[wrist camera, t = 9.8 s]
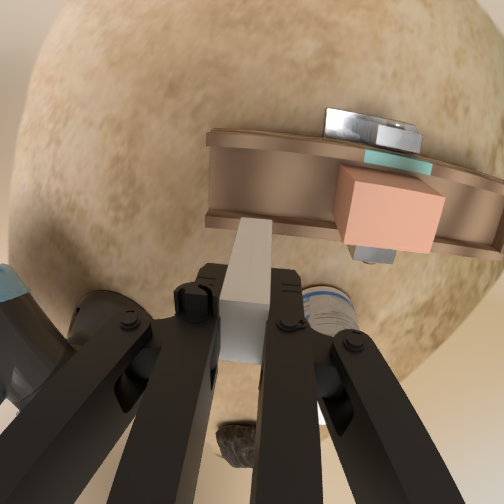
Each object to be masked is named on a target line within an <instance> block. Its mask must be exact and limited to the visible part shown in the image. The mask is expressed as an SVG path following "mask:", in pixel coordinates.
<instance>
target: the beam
mask: <svg viewBox="0 0 504 504" xmlns="http://www.w3.org/2000/svg"><path fill="white" fill-rule="evenodd" d="M206 146H210V175H209V210H208V212H207V214H206V215H205V227H207V228H218V229H229V230H238V227H239V224H240V220H241V217H244V218H256V219H267V220H272V234H279V235H289V236H299V237H308V238H317V239H326V240H335V241H342V239H341V236H340V234H339V231H338V228H337V226H336V223H335V221H334V218H333V215H332V213H333V208H334V201H335V195H336V189H337V182H338V176H339V169H340V163H342V164H349V165H355V166H361V167H368V168H374V169H379V170H385V171H390V172H396V173H401V174H406V175H411V176H416V177H418V178H419V179H421V180H422V181H424V182H425V183H427V184H428V185H429V186H431V187H432V188H434V189H435V190H436V191H438V192H439V193H440V194H442V195H443V196H444V197H446V198H445V202H444V206H443V209H442V213H441V217H440V220H439V224H438V227H437V231H436V234H435V237H434V240H433V244H432V247H431V250H430V252H435V253H443V254H450V255H458V256H465V257H473V258H480V259H487V260H494V261H502V259H503V256H504V180H502V179H499V178H496V177H493V176H490V175H487V174H484V173H481V172H478V171H475V170H471V169H468V168H465V167H461V166H458V165H454V164H451V163H447V162H443V161H439V160H436V159H432V158H428V157H424V156H419V155H415V154H411V153H406V152H402V151H397V150H392V149H388V148H383V147H377V146H372V145H367V144H361V143H355V142H349V141H343V140H336V139H330V138H323V137H315V136H307V135H299V134H290V133H280V132H269V131H257V130H242V129H224V128H214V129H212V130H211V131H210V132H208V133H206Z"/></svg>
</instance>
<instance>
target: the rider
mask: <svg viewBox="0 0 504 504" xmlns="http://www.w3.org/2000/svg"><path fill="white" fill-rule="evenodd" d="M445 198H446V197H444V196H443V195H442V194H440V193H439V192H438V191H436V190H435V189H434V188H432V187H431V186H429V185H428V184H427V183H425V182H424V181H422V180H421V179H419V178H418V177H416V176H411V175H406V174H401V173H396V172H390V171H385V170H379V169H374V168H368V167H361V166H355V165H349V164H342V163H340V169H339V176H338V182H337V189H336V195H335V201H334V208H333V213H332V215H333V218H334V221H335V223H336V226H337V228H338V231H339V234H340V236H341V239H342V242H343V244H348V245H357V246H366V247H375V248H384V249H393V250H401V251H410V252H418V253H426V254H429V253H430V250H431V247H432V244H433V240H434V237H435V234H436V231H437V227H438V224H439V220H440V217H441V213H442V209H443V206H444V202H445Z"/></svg>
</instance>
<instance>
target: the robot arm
mask: <svg viewBox="0 0 504 504" xmlns="http://www.w3.org/2000/svg"><path fill="white" fill-rule="evenodd" d="M271 253H272V220H267V219H256V218H244V217H241V220H240V224H239V227H238V231H237V235H236V238H235V242H234V246H233V249H232V253H231V257H230V260H229V264H228V265H224V264H214V263H207V264H206V265H204V266H203V267H202V268H200V270H199V272H198V275H197V278H196V280H195V282H189V283H185V284H182V285H180V286H178V287H177V288H176V289H175V290H174V302H175V312H176V313H175V316H173V317H170V318H166V319H157V320H152V318H151V317H150V316H149V315H148V314H147V313H146V312H145V311H144V310H143V309H142V308H141V307H140V306H139V305H137V304H136V303H135V302H133V301H132V300H130V299H128V298H126V297H124V296H122V295H120V294H117V293H114V292H110V291H102V290H100V291H93V292H90V293H88V294H86V295H85V296H84V297H83V298H82V299H81V301H80V302H79V303H78V304H77V306H76V308H75V310H74V312H73V316H72V320H71V323H70V327H69V331H68V335H67V338H66V339H65V338H64V337H63V335H62V334H61V333H60V332H59V331H58V329H57V328H56V327H55V326H54V324H53V323H52V322H51V321H50V319H49V318H48V317H47V315H46V314H45V313H44V312H43V310H42V309H41V308H40V306H39V305H38V304H37V302H36V301H35V299H34V298H33V297H32V295H31V294H30V289H29V288H28V287H26V286H25V285H24V283H23V282H22V281H21V279H20V278H19V277H18V275H17V274H16V273H15V271H14V270H13V269H12V268H11V267H10V266H9V265H7V264H0V405H1V403H2V402H3V401H4V400H5V399H6V398H7V399H8V400H10V401H11V402H12V403H13V404H14V405H15V406H16V407H17V408H18V409H19V412H17V414H16V415H17V417H16V418H15V419H14V420H13V421H12V422H11V423H10V424H9V425H8V427H7V428H6V429H5V430H4V431H3V432H2V434H1V435H0V504H74V503H75V501H76V500H77V498H78V497H79V495H80V494H81V493H82V491H83V490H84V488H85V487H86V485H87V484H88V483H89V481H90V480H91V478H92V477H93V475H94V474H95V473H96V471H97V470H98V468H99V467H100V465H101V464H102V463H103V461H104V460H105V458H106V457H107V455H108V454H109V452H110V451H111V450H112V448H113V447H114V445H115V444H116V442H117V441H118V440H119V438H120V437H121V436H122V434H123V433H124V431H125V429H126V428H127V427H128V425H129V424H130V423H131V421H132V420H133V418H134V417H135V416H136V417H135V419H134V422H133V425H132V428H131V431H130V434H129V437H128V439H127V442H126V445H125V448H124V451H123V454H122V457H121V460H120V463H119V466H118V469H117V472H116V475H115V478H114V481H113V485H112V487H111V491H110V494H109V497H108V500H107V503H106V504H193V501H194V496H195V490H196V485H197V479H198V474H199V468H200V463H201V458H202V452H203V447H204V441H205V436H206V431H207V425H208V420H209V415H210V410H211V404H212V399H213V394H214V389H215V383H216V378H217V373H218V358H219V360H221V361H229V362H239V363H249V364H260V365H261V373H260V381H259V388H258V389H259V398H258V411H257V424H256V436H255V449H254V460H253V472H252V484H251V495H250V504H323V487H322V467H321V447H320V432H319V418H318V405H319V407H320V410H321V412H322V415H323V418H324V420H325V423H326V425H327V428H328V431H329V433H330V436H331V439H332V441H333V444H334V446H335V449H336V451H337V454H338V457H339V460H340V462H341V464H342V468H343V470H344V473H345V476H346V478H347V481H348V483H349V486H350V489H351V491H352V494H353V497H354V499H355V502H356V504H465V502H464V500H463V498H462V496H461V494H460V492H459V490H458V488H457V486H456V484H455V482H454V480H453V478H452V476H451V474H450V473H449V470H448V468H447V467H446V465H445V463H444V461H443V459H442V457H441V455H440V453H439V452H438V450H437V448H436V446H435V444H434V443H433V441H432V439H431V437H430V435H429V433H428V432H427V430H426V428H425V426H424V425H423V423H422V421H421V419H420V418H419V416H418V414H417V413H416V411H415V409H414V407H413V406H412V404H411V402H410V400H409V399H408V397H407V396H406V394H405V392H404V390H403V389H402V387H401V385H400V384H399V382H398V380H397V379H396V377H395V375H394V374H393V372H392V370H391V369H390V367H389V366H388V364H387V362H386V361H385V359H384V357H383V356H382V354H381V353H380V351H379V349H378V348H377V346H376V345H375V343H374V342H373V340H372V339H371V338H370V337H369V336H368V335H367V334H365V333H364V332H362V331H359V330H355V329H344V330H341V331H339V332H338V333H336V334H335V336H334V337H332V336H329V335H325V334H322V333H320V332H317V331H316V330H314V329H312V328H311V327H310V325H309V323H308V320H307V319H306V318H305V315H304V305H303V296H302V287H301V279H300V276H299V275H298V274H297V273H296V271H295V270H289V269H278V268H271ZM317 402H318V405H317Z"/></svg>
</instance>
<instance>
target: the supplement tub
mask: <svg viewBox="0 0 504 504" xmlns="http://www.w3.org/2000/svg"><path fill="white" fill-rule="evenodd" d="M302 296H303V305H304V315H305V318H306V319H307V320H308V323H309V325H310V327H311V328H312V329H314V330H316V331H317V332H320V333H322V334H325V335H329V336H332V337H334V336H335V334H336V333H338V332H339V331H341V330H344V329H355V330H359V326H358V322H357V318H356V314H355V311H354V307H353V304H352V302H351V300H350V299H349V298H348V296H347V295H346V294H344V293H343V292H341V291H340V290H338V289H335V288H332V287H326V286H319V287H312V288H308V289H305V290H303V291H302ZM359 331H360V330H359ZM317 405H318V402H317ZM318 418H319V425H320V424H326V423H325V420H324V418H323V415H322V412H321V410H320V407H319V405H318Z"/></svg>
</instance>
